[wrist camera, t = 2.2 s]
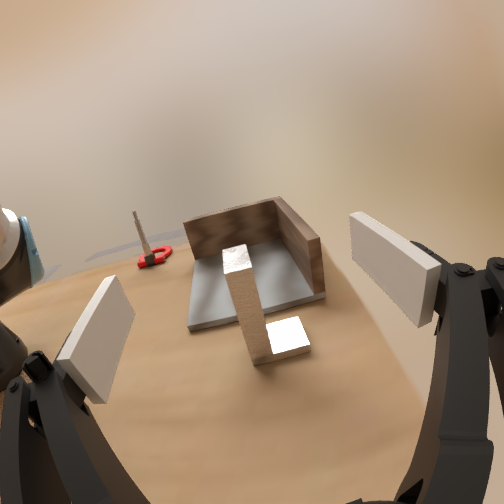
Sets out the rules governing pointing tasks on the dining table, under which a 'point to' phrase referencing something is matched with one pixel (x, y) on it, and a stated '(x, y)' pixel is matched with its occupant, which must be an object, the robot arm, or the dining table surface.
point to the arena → (253, 260)
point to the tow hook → (148, 255)
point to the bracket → (259, 314)
